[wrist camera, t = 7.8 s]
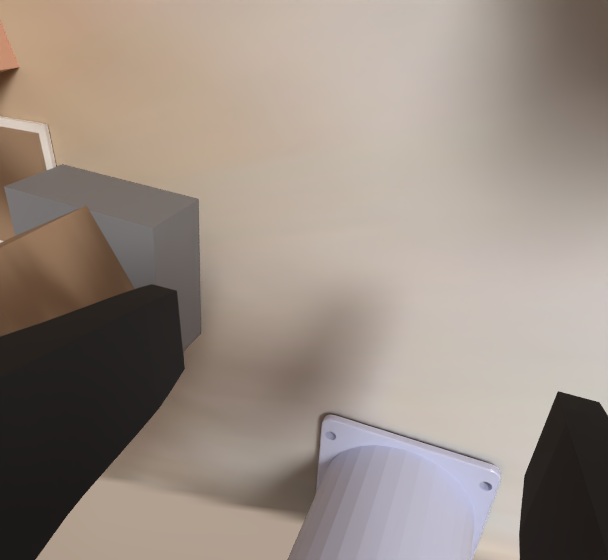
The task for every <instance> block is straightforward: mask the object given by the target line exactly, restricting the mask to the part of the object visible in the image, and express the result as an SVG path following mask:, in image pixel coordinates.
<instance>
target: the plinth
mask: <svg viewBox="0 0 608 560" xmlns="http://www.w3.org/2000/svg"><path fill="white" fill-rule="evenodd" d="M4 189H5V193H6V198H7V202H8V206H9V211H10V215H11V220H12V224H13V228H14V233H15V236H16V235H18V234H21V233H23V232H25V231H28V230H30V229H32V228H35V227H37V226H39V225H42V224H44V223H46V222H49V221H51V220H53V219H56V218H58V217H60V216H63V215H65V214H67V213H70V212H72V211H74V210H77V209H79V208H81V207H84V206H87V207H88V209H89V211H90V213H91V214H92V216H93V218H94V219H95V221H96V223H97V225H98V226H99V228H100V230H101V232H102V233H103V235H104V237H105V238H106V240H107V242H108V244H109V245H110V247H111V249H112V251H113V252H114V254H115V256H116V257H117V259H118V261H119V263H120V264H121V266H122V268H123V270H124V271H125V273H126V275H127V276H128V278H129V280H130V282H131V283H132V285H133V287H134V288H135V289H136V288H140V287H143V286H147V285H150V284H153V285H157V286H161V287H165V288H169V289H172V290H176V291H177V295H178V306H179V316H180V326H181V336H182V347H183V351H184V350H185V349H186V348H187V347H188V346H189V345H190V344H191V343H192V342H193V341H194V340H195V339H196V338H197V337H198V336H199V335H200V334H201V305H200V250H199V199H197V198H193V197H189V196H185V195H181V194H177V193H173V192H169V191H165V190H161V189H157V188H153V187H150V186H146V185H142V184H138V183H134V182H130V181H126V180H122V179H118V178H114V177H110V176H106V175H102V174H99V173H95V172H91V171H87V170H83V169H79V168H75V167H71V166H67V165H63V164H62V165H60V166H57V167H54V168H52V169H49V170H46V171H44V172H41V173H38V174H36V175H33V176H31V177H28V178H25V179H23V180H20V181H17V182H15V183H12V184H9V185H7V186H4Z"/></svg>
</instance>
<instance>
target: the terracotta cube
mask: <svg viewBox="0 0 608 560" xmlns="http://www.w3.org/2000/svg"><path fill="white" fill-rule="evenodd" d="M18 67H19V65H18V62H17V60H16V57H15V55H14V52H13V50H12V48H11V45H10V43H9V40H8V38H7V35H6V33H5V31H4V28H3V26H2V23H1V21H0V72H4V71H7V70H11V69H15V68H18Z"/></svg>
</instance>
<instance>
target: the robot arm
mask: <svg viewBox="0 0 608 560" xmlns="http://www.w3.org/2000/svg"><path fill="white" fill-rule="evenodd" d="M184 369H185V367H184V357H183V347H182V336H181V326H180V316H179V306H178V295H177V291H176V290H172V289H169V288H165V287H161V286H157V285H153V284H150V285H147V286H143V287H140V288H136V289H133V290H130V291H127V292H124V293H122V294H119V295H116V296H113V297H110V298H108V299H105V300H102V301H99V302H97V303H94V304H91V305H89V306H86V307H83V308H80V309H78V310H75V311H72V312H70V313H67V314H64V315H61V316H59V317H56V318H53V319H51V320H48V321H45V322H42V323H39V324H36V325H33V326H30V327H27V328H24V329H21V330H18V331H15V332H12V333H9V334H6V335H3V336H0V560H35V559H36V558H37V556H38V555H39V554H40V552H41V551H42V550H43V548H44V547H45V545H46V544H47V543H48V541H49V540H50V538H51V537H52V536H53V534H54V533H55V532H56V530H57V529H58V527H59V526H60V525H61V523H62V522H63V520H64V519H65V518H66V516H67V515H68V514H69V513H70V511H71V510H72V509H73V508H74V506H75V505H76V504H77V503H78V501H79V500H80V499H81V498H82V496H83V495H84V494H85V493H86V492H87V491H88V489H89V488H90V487H91V486H92V485H93V484H94V483H95V481H96V480H97V479H98V478H99V477H100V476H101V475H102V474H103V472H104V471H105V470H106V469H107V468H108V467H109V466H110V464H111V463H112V462H113V461H114V460H115V459H116V458H117V456H118V455H119V454H120V453H121V452H122V451H123V450H124V448H125V447H126V446H127V445H128V444H129V443H130V442H131V440H132V439H133V438H134V437H135V436H136V435H137V433H138V432H139V431H140V430H141V429H142V428H143V426H144V425H145V424H146V423H147V422H148V421H149V419H150V418H151V417H152V416H153V415H154V414H155V412H156V411H157V410H158V409H159V407H160V406H161V404H162V403H163V401H164V400H165V399H166V397H167V396H168V394H169V393H170V391H171V390H172V388H173V386H174V385H175V383H176V382H177V380H178V379H179V377H180V375H181V374H182V372H183V371H184ZM331 432H333V433H334V434H333V433H331ZM484 482H488V483H489V484H488V483H484ZM500 482H501V471H500V469H498V468H497V467H496V466H494V465H492V464H489V463H486V462H483V461H479V460H476V459H473V458H470V457H467V456H464V455H460V454H457V453H454V452H451V451H448V450H444V449H441V448H438V447H435V446H432V445H428V444H425V443H422V442H419V441H416V440H413V439H409V438H406V437H403V436H400V435H397V434H393V433H390V432H387V431H384V430H381V429H377V428H374V427H371V426H368V425H365V424H361V423H358V422H355V421H352V420H349V419H346V418H342V417H339V416H336V415H327V416H326V417H325V418H324V420H323V422H322V427H321V439H320V450H319V462H318V474H317V485H316V495H315V497H314V500H313V502H312V504H311V507H310V509H309V511H308V514H307V516H306V518H305V521H304V523H303V525H302V528H301V530H300V532H299V534H298V537H297V539H296V541H295V544H294V546H293V549H292V551H291V553H290V555H289V558H288V560H472V559H473V557H474V554H475V551H476V548H477V546H478V543H479V540H480V537H481V535H482V532H483V529H484V526H485V523H486V521H487V518H488V515H489V512H490V510H491V507H492V504H493V501H494V499H495V496H496V493H497V490H498V488H499V485H500ZM519 541H520V560H608V415H607V414H606V412H605V410H604V409H603V407H602V406H601V404H600V403H599V402H596V401H592V400H589V399H585V398H581V397H577V396H573V395H570V394H566V393H562V392H558V393H557V395H556V398H555V400H554V403H553V405H552V408H551V410H550V413H549V415H548V418H547V420H546V423H545V425H544V428H543V431H542V433H541V436H540V438H539V441H538V443H537V446H536V448H535V451H534V453H533V456H532V458H531V461H530V463H529V466H528V468H527V471H526V473H525V477H524V487H523V497H522V508H521V520H520V531H519Z"/></svg>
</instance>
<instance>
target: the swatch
mask: <svg viewBox="0 0 608 560" xmlns="http://www.w3.org/2000/svg"><path fill="white" fill-rule="evenodd" d="M54 167H56V163H55V158H54V153H53V148H52V143H51V139H50V134H49V129H48V124H44V123H39V122H33V121H27V120H21V119H15V118H9V117H3V116H0V243H1V242H3V241H5V240H7V239H9V238H11V237H14V236H15V233H14V228H13V224H12V220H11V215H10V211H9V206H8V202H7V198H6V193H5V189H4V186H7V185H9V184H12V183H15V182H17V181H20V180H23V179H25V178H28V177H31V176H33V175H36V174H38V173H41V172H44V171H46V170H49V169H52V168H54Z"/></svg>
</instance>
